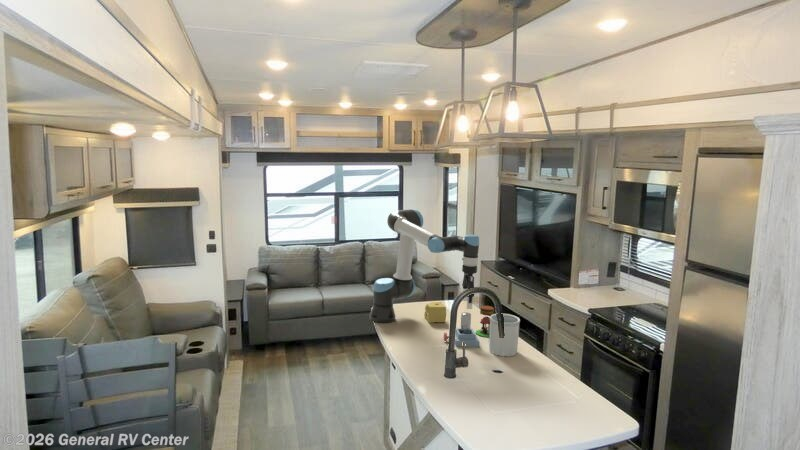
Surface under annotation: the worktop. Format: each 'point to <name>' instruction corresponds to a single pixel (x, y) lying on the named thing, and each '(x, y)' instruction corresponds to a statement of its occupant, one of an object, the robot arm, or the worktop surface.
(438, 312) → the cheese
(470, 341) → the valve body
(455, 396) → the worktop surface
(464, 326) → the pipe stub
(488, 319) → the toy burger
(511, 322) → the utensil holder
